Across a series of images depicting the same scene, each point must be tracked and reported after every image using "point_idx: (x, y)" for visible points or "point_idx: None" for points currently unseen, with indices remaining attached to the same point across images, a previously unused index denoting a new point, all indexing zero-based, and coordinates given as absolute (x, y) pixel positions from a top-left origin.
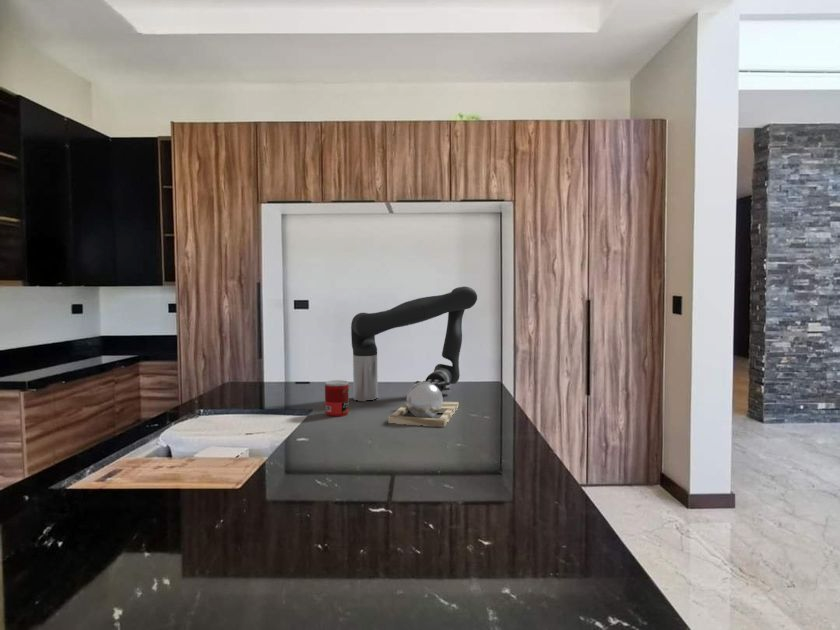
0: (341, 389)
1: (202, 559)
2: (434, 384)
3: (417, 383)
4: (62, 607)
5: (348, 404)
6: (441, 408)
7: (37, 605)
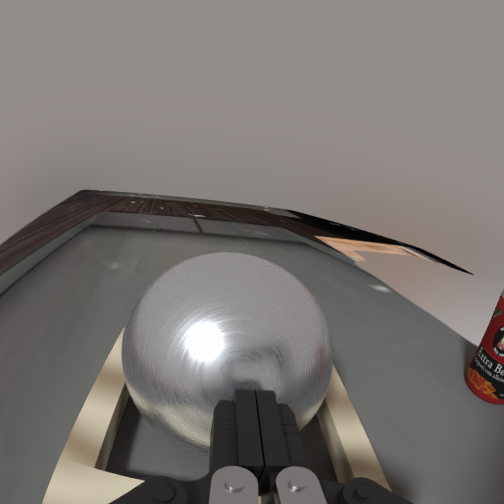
0: (497, 305)
1: (264, 212)
2: (209, 501)
3: (284, 270)
4: (285, 210)
5: (487, 368)
6: (134, 479)
7: (293, 211)
